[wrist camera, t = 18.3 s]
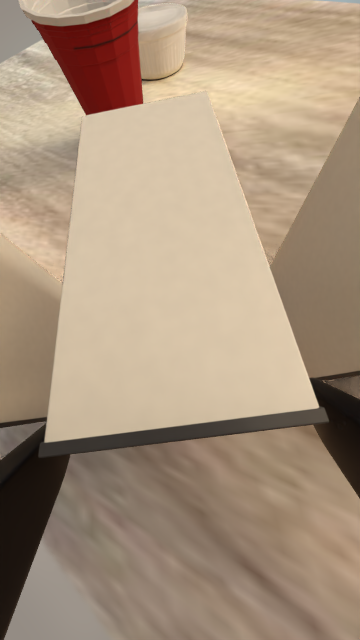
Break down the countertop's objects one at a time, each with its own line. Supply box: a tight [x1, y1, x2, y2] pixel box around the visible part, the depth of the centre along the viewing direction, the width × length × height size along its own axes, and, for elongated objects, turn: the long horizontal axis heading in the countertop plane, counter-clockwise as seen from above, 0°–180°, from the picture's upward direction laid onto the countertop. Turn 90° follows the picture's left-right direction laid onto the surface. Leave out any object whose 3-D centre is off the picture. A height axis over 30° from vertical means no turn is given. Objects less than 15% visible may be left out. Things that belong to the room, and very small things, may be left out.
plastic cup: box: [18, 0, 143, 115], centre depth 22 cm, size 11×11×12 cm
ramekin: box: [138, 3, 187, 79], centre depth 33 cm, size 11×11×5 cm
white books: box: [0, 97, 360, 428], centre depth 11 cm, size 9×24×13 cm, turn 98°
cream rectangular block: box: [38, 91, 329, 458], centre depth 10 cm, size 9×4×13 cm, turn 7°
